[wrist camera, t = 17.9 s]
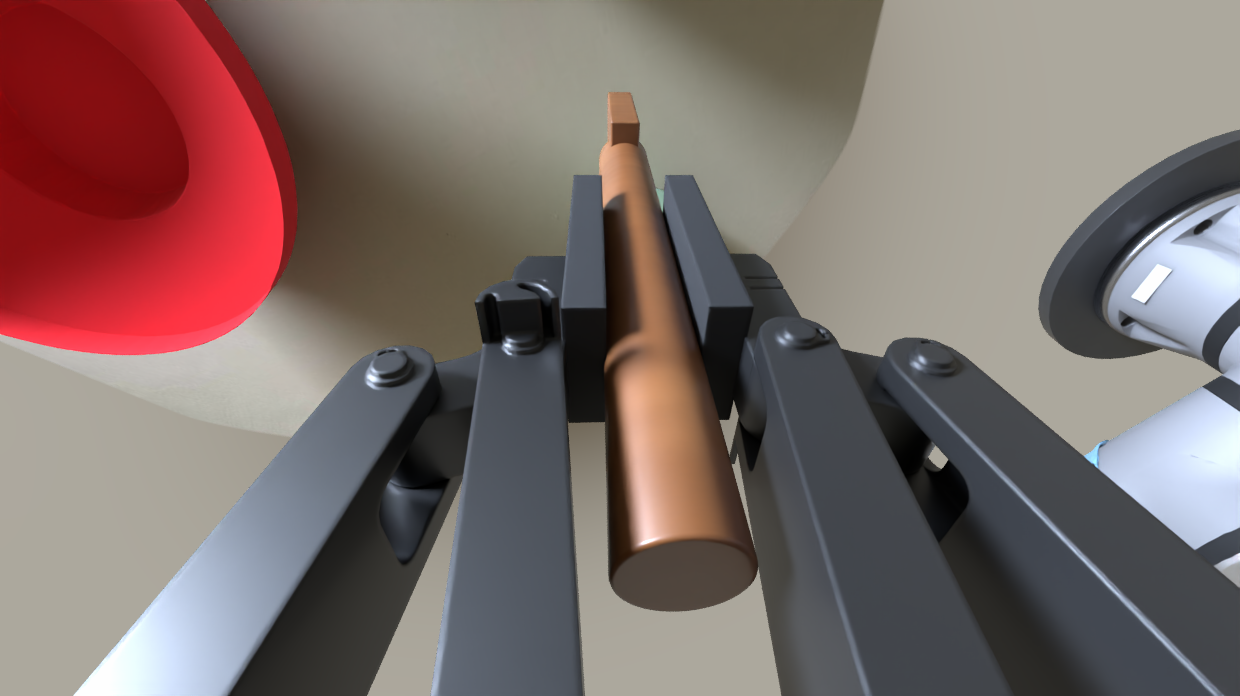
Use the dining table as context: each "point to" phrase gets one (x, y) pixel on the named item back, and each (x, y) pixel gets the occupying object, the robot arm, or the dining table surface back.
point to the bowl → (135, 177)
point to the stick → (660, 408)
